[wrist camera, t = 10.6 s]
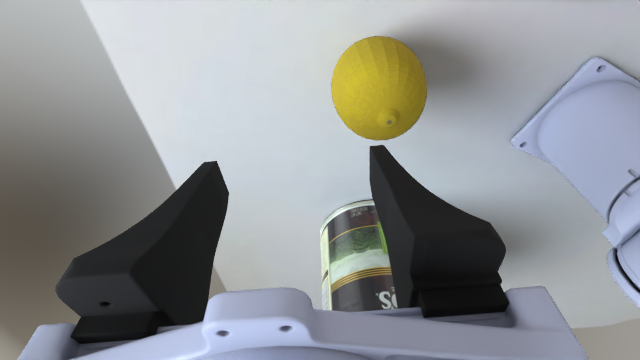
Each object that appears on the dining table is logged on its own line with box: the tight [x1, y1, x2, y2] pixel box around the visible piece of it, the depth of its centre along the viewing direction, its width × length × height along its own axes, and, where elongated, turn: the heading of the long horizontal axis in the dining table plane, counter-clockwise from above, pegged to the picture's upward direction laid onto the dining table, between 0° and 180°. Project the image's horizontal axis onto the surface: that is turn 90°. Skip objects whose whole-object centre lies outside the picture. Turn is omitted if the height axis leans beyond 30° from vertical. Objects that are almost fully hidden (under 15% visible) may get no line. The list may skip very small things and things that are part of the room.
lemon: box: [331, 36, 427, 140], centre depth 20 cm, size 6×6×8 cm
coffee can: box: [320, 200, 398, 312], centre depth 29 cm, size 10×10×14 cm
